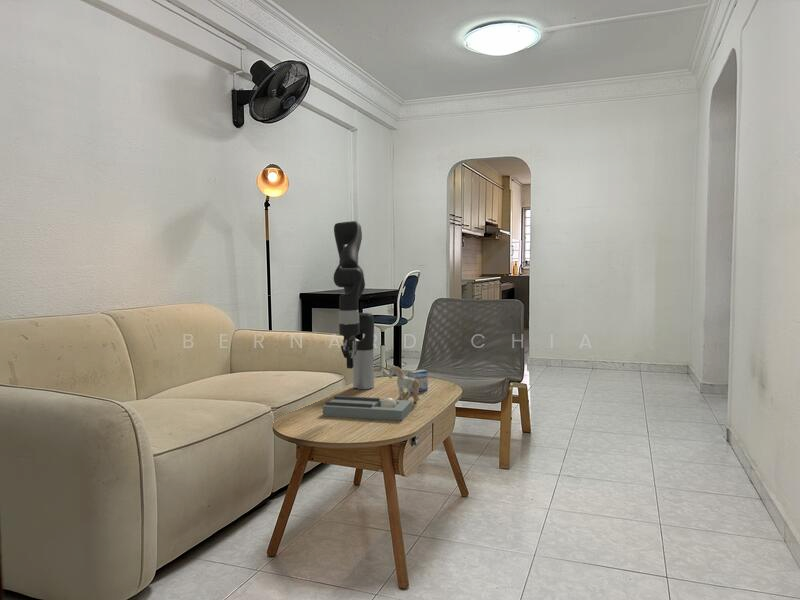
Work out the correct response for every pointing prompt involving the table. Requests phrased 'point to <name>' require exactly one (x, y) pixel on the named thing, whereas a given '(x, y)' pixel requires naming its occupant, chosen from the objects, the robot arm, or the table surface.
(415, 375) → the medicine box
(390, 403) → the plastic ball
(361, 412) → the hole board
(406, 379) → the unicorn figurine
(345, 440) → the table surface
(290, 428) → the table surface
